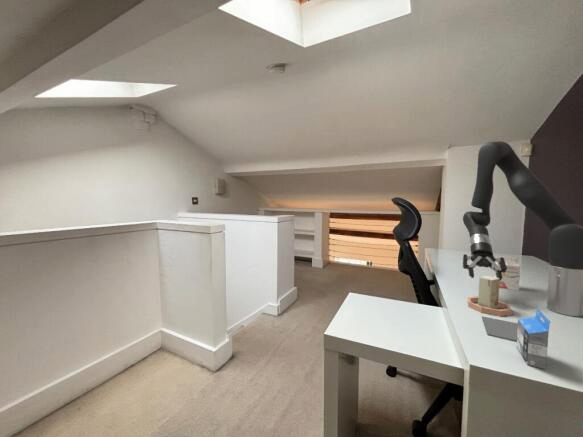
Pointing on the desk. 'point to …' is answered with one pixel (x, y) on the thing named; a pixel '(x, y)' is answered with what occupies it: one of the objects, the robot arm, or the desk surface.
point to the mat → (501, 328)
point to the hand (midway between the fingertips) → (485, 278)
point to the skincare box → (488, 292)
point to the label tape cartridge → (533, 340)
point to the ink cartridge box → (510, 274)
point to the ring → (501, 312)
